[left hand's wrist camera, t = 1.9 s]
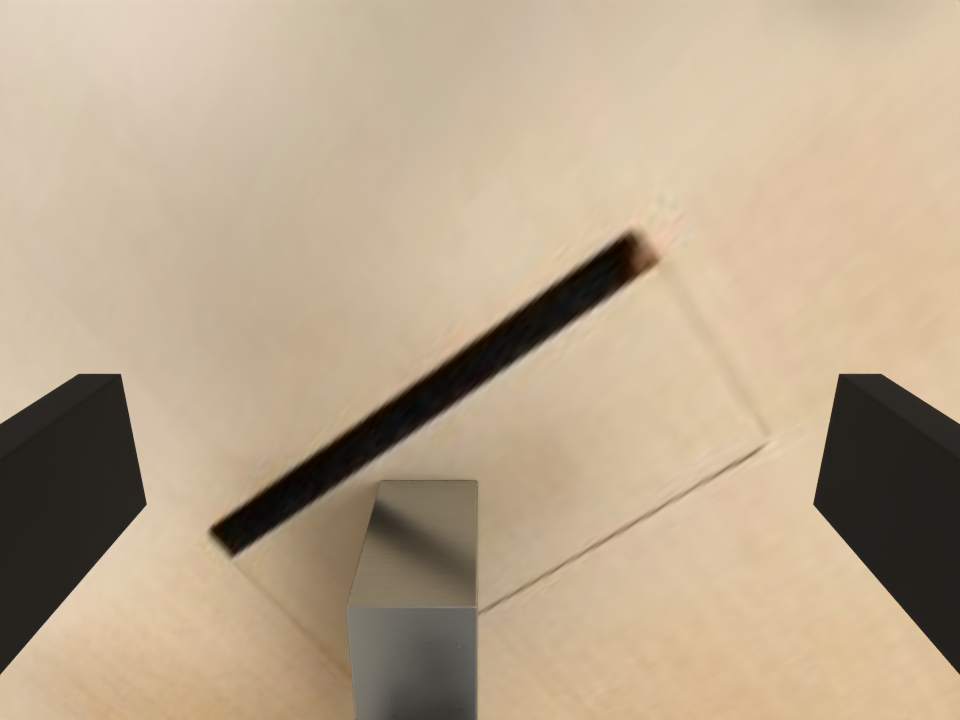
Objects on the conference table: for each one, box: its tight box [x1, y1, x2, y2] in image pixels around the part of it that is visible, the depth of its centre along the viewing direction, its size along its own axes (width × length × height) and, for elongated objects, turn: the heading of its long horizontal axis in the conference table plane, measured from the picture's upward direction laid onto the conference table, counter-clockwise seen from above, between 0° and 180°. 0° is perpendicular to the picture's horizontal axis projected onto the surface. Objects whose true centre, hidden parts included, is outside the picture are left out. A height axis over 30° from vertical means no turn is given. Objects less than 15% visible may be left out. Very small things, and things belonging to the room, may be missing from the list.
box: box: [346, 481, 478, 720], centre depth 39 cm, size 21×6×11 cm, turn 0°
